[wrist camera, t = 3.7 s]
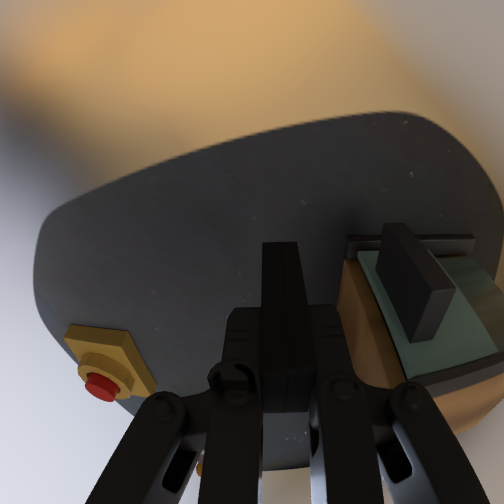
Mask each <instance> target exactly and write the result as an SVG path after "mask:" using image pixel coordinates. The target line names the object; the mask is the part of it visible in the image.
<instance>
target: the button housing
mask: <svg viewBox="0 0 504 504" xmlns="http://www.w3.org/2000/svg"><path fill="white" fill-rule="evenodd" d="M63 338H64V340H65V341H66V343H67V344H68V346H69V347H70V349H71V350H72V352H73V353H74V355H75V356H76V357H77V359H78V360H79V362H80V363H79V365H78V374H79V376H80V377H81V378H82V380H83V381H84V382H85V383H86V381H87V379H88V377H89V375H90V373H91V372H94V373H98V374H101V375H103V376H105V377H107V378H109V379H110V380H112V381H113V382H114V383H116V384H117V385H118V387H119V389H118V392H117V394H116V397H115V398H116V399H126V398H129V397H130V395H135V396H141V397H148V396H150V395H152V394H154V393H155V389H156V386H157V384H156V382H155V380H154V379H153V377H152V375H151V373H150V372H149V370H148V368H147V366H146V364H145V363H144V361H143V359H142V357H141V355H140V353H139V351H138V350H137V348H136V346H135V344H134V342H133V340H132V338H131V336H130V334H129V332H128V331H121V330H112V329H103V328H95V327H87V326H80V325H73V324H71V326H70V327H69V329H68V330H67V332H66V334H65V335H64V337H63Z"/></svg>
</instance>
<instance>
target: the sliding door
mask: <svg viewBox="0 0 504 504" xmlns="http://www.w3.org/2000/svg"><path fill="white" fill-rule="evenodd" d="M357 258H358V260H359V262H360V264H361V266H362V268H363V270H364V272H365V274H366V277H367V279H368V281H369V283H370V285H371V288H372V290H373V292H374V294H375V297H376V299H377V301H378V304H379V306H380V308H381V311H382V313H383V315H384V318H385V320H386V323H387V325H388V328H389V330H390V333H391V335H392V338H393V340H394V343H395V345H396V348H397V351H398V353H399V356H400V359H401V362H402V364H403V367H404V370H405V373H406V376H407V379H411V378H415V377H420V376H424V375H428V374H433V373H437V372H440V371H444V370H448V369H452V368H455V367H459V366H462V365H465V364H468V363H472V362H475V361H478V360H481V359H484V358H487V357H489V356H492V355H495V354H497V353H498V352H499V351H498V349H497V347H496V346H495V344H494V342H493V340H492V339H491V337H490V335H489V334H488V332H487V330H486V329H485V327H484V325H483V324H482V322H481V321H480V319H479V318H478V316H477V315H476V313H475V311H474V310H473V308H472V307H471V305H470V304H469V303H468V301H467V300H466V298H465V297H464V295H463V294H462V292H461V291H460V290H459V288H458V287H457V286H456V284H455V283H454V281H453V280H452V279H451V277H450V276H449V275H448V273H447V272H446V271H445V270H444V268H443V267H442V266H441V264H440V263H439V262H438V261H437V259H436V258H435V257H434V256H433V254H432V253H431V252H430V251H429V250H428V249H426V248H425V247H424V245H423V244H422V243H421V242H420V241H419V239H418V238H417V237H416V236H415V235H414V234H413V232H412V231H411V230H410V229H409V228H408V227H407V226H406V224H404V223H384V226H383V232H382V238H381V243H380V248H379V251H358V255H357Z"/></svg>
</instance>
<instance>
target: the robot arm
mask: <svg viewBox="0 0 504 504" xmlns="http://www.w3.org/2000/svg"><path fill="white" fill-rule="evenodd" d="M207 379H208V382H209V385H210V389H208V390H207V391H205V392H203V393H200V394H196V395H191V396H186V397H181V398H180V397H179V396H178V395H176V394H174V393H172V392H166V391H162V392H156V393H154V394H152V395H150V396H148V397H147V399H146V400H145V401H144V402H143V403H142V405H141V407H140V408H139V410H138V412H137V413H136V415H135V417H134V419H133V421H132V422H131V424H130V426H129V427H128V429H127V431H126V432H125V434H124V436H123V437H122V439H121V441H120V443H119V445H118V446H117V448H116V450H115V451H114V453H113V455H112V456H111V458H110V460H109V462H108V463H107V465H106V467H105V469H104V470H103V472H102V474H101V476H100V478H99V479H98V481H97V483H96V485H95V486H94V488H93V490H92V492H91V494H90V495H89V497H88V499H87V501H86V503H85V504H178V503H179V501H180V499H181V497H182V495H183V493H184V490H185V488H186V486H187V484H188V482H189V479H190V477H191V475H192V473H193V470H194V468H195V466H196V464H197V461H198V459H199V457H200V455H201V452H202V451H203V450H204V457H203V465H202V473H201V481H200V489H199V497H198V504H261V494H262V493H261V492H262V460H263V413H292V412H307V411H308V407H309V422H308V426H307V429H306V435H308V437H309V454H310V474H311V503H312V504H384V497H383V489H382V482H381V475H382V477H383V479H384V482H385V484H386V486H387V488H388V491H389V493H390V495H391V498H392V500H393V502H394V504H490V502H489V500H488V498H487V496H486V494H485V491H484V489H483V487H482V485H481V483H480V481H479V479H478V477H477V475H476V473H475V471H474V469H473V467H472V466H471V464H470V462H469V460H468V458H467V456H466V454H465V453H464V451H463V449H462V447H461V446H460V444H459V442H458V440H457V438H456V437H455V435H454V433H453V431H452V430H451V428H450V426H449V424H448V423H447V421H446V419H445V418H444V416H443V414H442V413H441V411H440V410H439V408H438V406H437V405H436V403H435V401H434V400H433V398H432V397H431V395H430V393H429V392H428V391H427V389H426V388H425V387H424V386H423V385H421V384H419V383H417V382H412V381H407V382H402V383H400V384H399V385H397V386H396V387H395V388H394V389H388V388H381V387H375V386H371V385H368V384H366V383H364V382H363V381H362V380H360V379H359V378H358V376H357V375H356V374H355V371H354V369H353V365H352V361H351V357H350V353H349V349H348V345H347V341H346V337H345V333H344V329H343V327H342V321H341V318H340V314H339V312H338V311H337V310H336V309H335V308H334V307H333V305H332V304H320V305H308V301H307V296H306V290H305V284H304V278H303V273H302V267H301V262H300V257H299V252H298V246H297V242H266V243H262V297H261V307H240V308H234V310H233V311H232V312H231V314H230V315H229V316H228V320H227V326H226V333H225V340H224V347H223V354H222V361H221V362H220V363H217V364H216V365H215V366H214V367H213V368H212V369H211V370H210V372H209V374H208V377H207ZM380 473H381V475H380Z"/></svg>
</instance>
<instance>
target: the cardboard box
mask: <svg viewBox="0 0 504 504" xmlns="http://www.w3.org/2000/svg"><path fill="white" fill-rule="evenodd" d="M415 236H416V237H417V238H418V239H419V241H420V242H421V243H422V244H423V245H424V247H425V248H426V249H428V250H429V251H430V252H431V253H432V254H433V255H435V256H434V257H435V258H436V259H437V261H438V262H439V263H440V264H441V266H442V267H443V268H444V270H445V271H446V272H447V273H448V275H449V276H450V277H451V279H452V280H453V281H454V283H455V284H456V286H457V287H458V288H459V290H460V291H461V292H462V294H463V295H464V297H465V298H466V300H467V301H468V303H469V304H470V305H471V307H472V308H473V310H474V311H475V313H476V315H477V316H478V318H479V319H480V321H481V322H482V324H483V325H484V327H485V329H486V330H487V332H488V334H489V335H490V337H491V339H492V340H493V342H494V344H495V346H496V347H497V349H498V351H499V352H498V353H497V354H495V355H492V356H489V357H487V358H484V359H481V360H478V361H475V362H472V363H468V364H465V365H462V366H459V367H455V368H452V369H448V370H444V371H440V372H437V373H433V374H428V375H424V376H420V377H415V378H411V379H407V376H406V373H405V370H404V367H403V364H402V362H401V359H400V356H399V353H398V351H397V348H396V345H395V343H394V340H393V338H392V335H391V333H390V330H389V328H388V325H387V323H386V320H385V318H384V315H383V313H382V311H381V308H380V306H379V304H378V301H377V299H376V297H375V294H374V292H373V290H372V288H371V285H370V283H369V281H368V279H367V277H366V274H365V272H364V270H363V268H362V266H361V264H360V262H359V260H358V259H349V258H357V255H358V251H379V248H380V243H381V238H382V236H347V242H346V250H345V253H346V256H347V258H348V259H344V264H343V271H342V278H341V284H340V290H339V296H338V302H337V308H336V310H337V311H338V312H339V314H340V318H341V321H342V327H343V329H344V333H345V337H346V341H347V345H348V349H349V353H350V357H351V361H352V365H353V369H354V371H355V374H356V375H357V376H358V378H359V379H360V380H362V381H363V382H364V383H366V384H368V385H371V386H375V387H381V388H388V389H394V388H395V387H396V386H397V385H399V384H400V383H402V382H407V381H412V382H417V383H419V384H421V385H423V386H424V387H425V388H426V389H427V391H428V392H429V393H430V395H431V397H432V398H433V400H434V401H435V403H436V405H437V406H438V408H439V410H440V411H441V413H442V414H443V416H444V418H445V419H446V421H447V423H448V424H449V426H450V428H451V430H452V431H453V433H454V435H456V434H458V433H461V432H463V431H466V430H468V429H470V428H472V427H473V426H474V425H476V424H477V423H478V422H479V421H480V420H481V419H482V418H483V417H485V416H486V415H487V414H488V413H489V412H490V411H491V410H492V409H493V408H494V407H495V406H496V405H497V404H498V403H499V402H500V401H501V400H502V399H503V398H504V294H503V292H502V291H501V290H500V289H499V287H498V286H497V285H496V284H495V282H494V281H493V280H492V279H491V278H490V276H489V275H488V274H487V273H486V272H485V270H484V269H483V268H482V267H481V266H480V265H479V264H478V263H477V261H476V260H475V259H474V258H473V257H472V256H471V257H468V255H467V254H472V253H473V250H474V247H475V244H476V241H477V239H476V238H475V237H474V236H473V235H415ZM450 254H457V255H450Z"/></svg>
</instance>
